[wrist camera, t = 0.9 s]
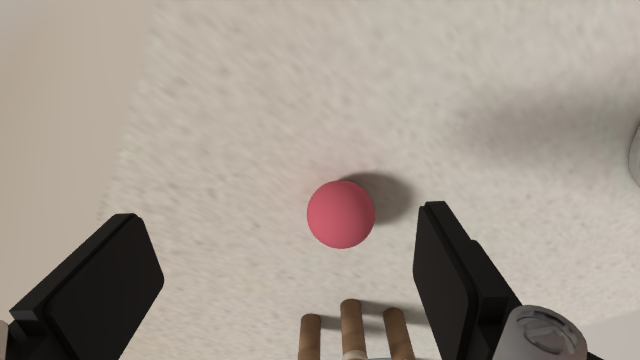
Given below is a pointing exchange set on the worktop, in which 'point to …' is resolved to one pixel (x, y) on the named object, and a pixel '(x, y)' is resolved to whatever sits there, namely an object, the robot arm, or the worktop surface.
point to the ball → (340, 214)
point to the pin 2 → (398, 335)
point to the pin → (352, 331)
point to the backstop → (381, 359)
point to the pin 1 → (309, 338)
